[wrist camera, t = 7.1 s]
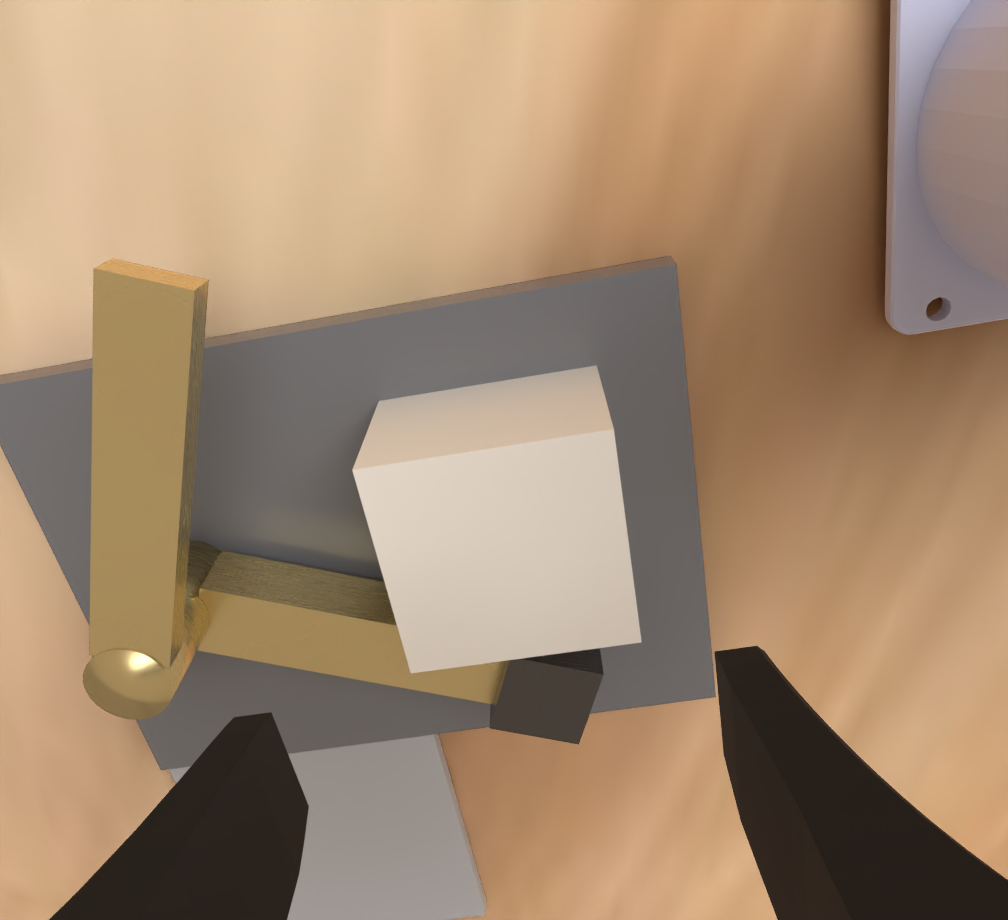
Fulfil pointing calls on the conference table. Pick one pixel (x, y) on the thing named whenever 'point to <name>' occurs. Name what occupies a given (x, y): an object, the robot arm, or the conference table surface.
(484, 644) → the cream foam cube
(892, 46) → the robot arm
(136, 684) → the l-shaped bracket
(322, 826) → the felt pad
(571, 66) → the conference table surface
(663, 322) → the base plate
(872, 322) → the conference table surface
